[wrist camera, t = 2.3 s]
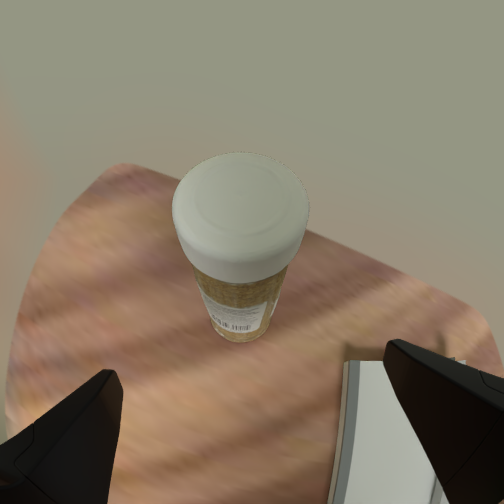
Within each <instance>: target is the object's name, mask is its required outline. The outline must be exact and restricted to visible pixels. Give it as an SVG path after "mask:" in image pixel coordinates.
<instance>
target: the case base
mask: <svg viewBox="0 0 504 504" xmlns="http://www.w3.org/2000/svg"><path fill="white" fill-rule="evenodd" d="M449 359H452V360H454V361H455V357H453V358H449ZM457 362H460V363H462V364H465V365H466V360H464V361H457ZM442 488H443V487H441V485H440V482H439V480H438V478H437V476H436V474H435V472H434V470H433V468H432V466H431V463H430V461H429V459H428V457H427V455H426V453H425V451H424V449H423V447H422V445H421V443H420V441H419V439H418V437H417V436H416V434H415V432H414V430H413V428H412V426H411V424H410V422H409V420H408V418H407V416H406V415H405V413H404V411H403V409H402V407H401V405H400V403H399V401H398V399H397V397H396V395H395V393H394V390H393V388H392V385H391V383H390V380H389V378H388V375H387V373H386V371H385V368H384V366H383V361H360V360H349V361H346V362H344V367H343V383H342V397H341V409H340V419H339V429H338V437H337V445H336V453H335V460H334V467H333V473H332V479H331V485H330V491H329V496H328V501H327V504H449V503H448V500H447V498H446V496H445V494H444V491H443V489H442Z"/></svg>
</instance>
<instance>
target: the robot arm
mask: <svg viewBox="0 0 504 504" xmlns="http://www.w3.org/2000/svg"><path fill="white" fill-rule="evenodd" d="M383 366H384V368H385V371H386V373H387V375H388V378H389V380H390V383H391V385H392V388H393V390H394V393H395V395H396V397H397V399H398V401H399V403H400V405H401V407H402V409H403V411H404V413H405V415H406V416H407V418H408V420H409V422H410V424H411V426H412V428H413V430H414V432H415V434H416V436H417V437H418V439H419V441H420V443H421V445H422V447H423V449H424V451H425V453H426V455H427V457H428V459H429V461H430V463H431V466H432V468H433V470H434V472H435V474H436V476H437V478H438V480H439V482H440V485H441V487H443V488H442V489H443V491H444V494H445V496H446V498H447V500H448V503H449V504H504V378H501V377H497V376H495V375H492V374H489V373H486V372H483V371H481V370H478V369H475V368H473V367H470V366H467V365H465V364H462V363H460V362H457V361H454V360H452V359H449V358H447V357H444V356H441V355H439V354H436V353H434V352H431V351H429V350H426V349H424V348H421V347H419V346H416V345H414V344H411V343H409V342H406V341H404V340H401V339H394V340H390V341H388V343H387V345H386V349H385V353H384V357H383ZM122 402H123V388H122V385H121V383H120V381H119V378H118V376H117V373H116V372H115V371H114V370H111V369H103V370H101V371H100V372H99V373H97V374H96V375H95V376H93V377H92V378H91V379H89V380H88V381H87V382H86V383H84V384H83V385H82V386H80V387H79V388H78V389H76V390H75V391H74V392H72V393H71V394H70V395H69V396H67V397H66V398H65V399H63V400H62V401H61V402H59V403H58V404H57V405H55V406H54V407H53V408H52V409H50V410H49V411H48V412H46V413H45V414H44V415H42V416H41V417H40V418H38V419H37V420H36V421H34V424H33V423H32V424H30V425H29V426H28V427H27V428H25V429H24V430H22V431H21V432H20V433H18V434H17V435H15V436H14V437H12V438H11V439H9V440H8V441H6V442H5V443H3V444H1V445H0V504H107V502H108V495H109V488H110V481H111V475H112V469H113V464H114V458H115V453H116V448H117V442H118V438H119V432H120V422H121V411H122Z"/></svg>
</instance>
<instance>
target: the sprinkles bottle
mask: <svg viewBox="0 0 504 504" xmlns="http://www.w3.org/2000/svg"><path fill="white" fill-rule="evenodd" d="M172 216H173V222H174V225H175V229H176V232H177V235H178V238H179V241H180V244H181V247H182V249H183V251H184V253H185V255H186V256H187V258H188V259H189V261H190V262H191V263H192V266H193V269H194V274H195V278H196V281H197V284H198V287H199V290H200V292H201V295H202V298H203V301H204V303H205V306H206V308H207V311H208V313H209V315H210V320H211V323H212V325H213V327H214V329H215V330H216V331H217V333H218V334H219V335H221V336H222V337H224V338H225V339H228V340H230V341H232V342H239V343H244V342H248V341H252V340H255V339H256V338H258V337H260V336H261V335H262V334H263V333H264V332H265V331H266V329H267V328H268V326H269V324H270V321H271V317H272V314H273V312H274V309H275V307H276V304H277V301H278V298H279V295H280V291H281V286H282V283H283V280H284V277H285V274H286V271H287V267H288V264H289V263H290V262H291V261H292V259H293V258H294V257H295V255H296V254H297V252H298V250H299V247H300V245H301V242H302V239H303V236H304V233H305V229H306V225H307V221H308V216H309V201H308V196H307V193H306V191H305V188H304V186H303V184H302V183H301V181H300V180H299V178H298V177H297V176H296V175H295V174H294V173H293V172H292V171H291V170H290V169H289V168H288V167H286V166H285V165H284V164H282V163H280V162H278V161H276V160H274V159H272V158H269V157H266V156H263V155H260V154H255V153H246V152H234V153H226V154H222V155H218V156H214V157H212V158H209V159H207V160H205V161H203V162H201V163H199V164H198V165H196V166H195V167H193V168H192V169H191V170H190V171H189V172H188V173H187V174H186V175H185V176H184V177H183V179H182V180H181V181H180V183H179V184H178V186H177V188H176V191H175V193H174V196H173V202H172Z"/></svg>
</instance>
